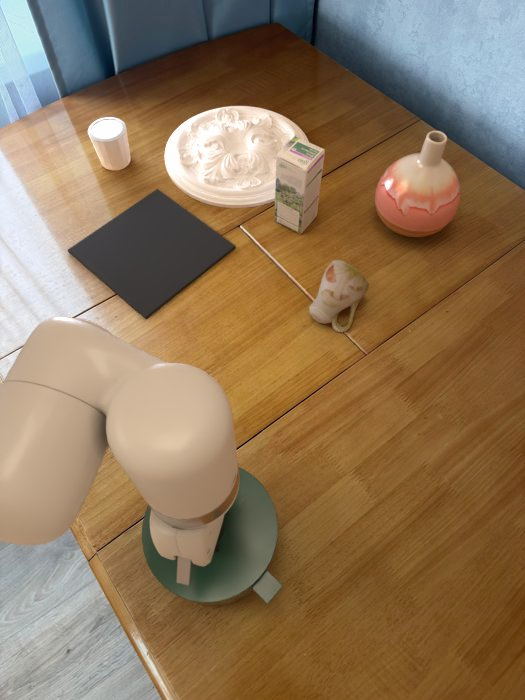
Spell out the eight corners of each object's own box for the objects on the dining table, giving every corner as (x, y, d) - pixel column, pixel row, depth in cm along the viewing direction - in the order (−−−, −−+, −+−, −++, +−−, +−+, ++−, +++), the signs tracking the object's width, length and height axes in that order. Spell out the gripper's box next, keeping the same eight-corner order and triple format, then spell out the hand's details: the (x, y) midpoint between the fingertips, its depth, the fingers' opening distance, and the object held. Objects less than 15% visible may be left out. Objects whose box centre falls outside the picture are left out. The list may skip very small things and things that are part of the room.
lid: (209, 637, 52) (203, 634, 47) (115, 533, 57) (99, 518, 52) (305, 526, 58) (310, 511, 52) (212, 440, 63) (207, 417, 57)
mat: (145, 319, 82) (145, 317, 82) (68, 252, 89) (67, 249, 89) (235, 248, 90) (235, 245, 89) (157, 190, 97) (157, 188, 96)
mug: (294, 319, 83) (306, 259, 78) (331, 305, 89) (344, 249, 84) (331, 339, 79) (346, 278, 74) (367, 324, 85) (383, 266, 80)
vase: (380, 186, 97) (402, 99, 82) (454, 206, 95) (491, 119, 80) (360, 238, 91) (379, 154, 76) (438, 261, 88) (475, 178, 73)
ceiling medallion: (262, 230, 92) (262, 217, 89) (135, 171, 99) (131, 157, 97) (336, 139, 104) (338, 125, 101) (218, 93, 111) (217, 79, 109)
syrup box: (318, 215, 94) (327, 147, 81) (300, 236, 91) (306, 168, 79) (290, 202, 95) (295, 133, 83) (272, 222, 93) (274, 154, 80)
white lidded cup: (90, 159, 101) (80, 127, 95) (120, 143, 103) (112, 111, 97) (110, 178, 98) (101, 146, 92) (141, 161, 101) (133, 129, 95)
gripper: (176, 373, 45) (198, 447, 61) (104, 575, 37) (151, 601, 53) (261, 391, 44) (261, 462, 60) (207, 602, 36) (223, 619, 52)
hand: (209, 526), depth 56 cm, fingers closed on lid, 3 cm apart
